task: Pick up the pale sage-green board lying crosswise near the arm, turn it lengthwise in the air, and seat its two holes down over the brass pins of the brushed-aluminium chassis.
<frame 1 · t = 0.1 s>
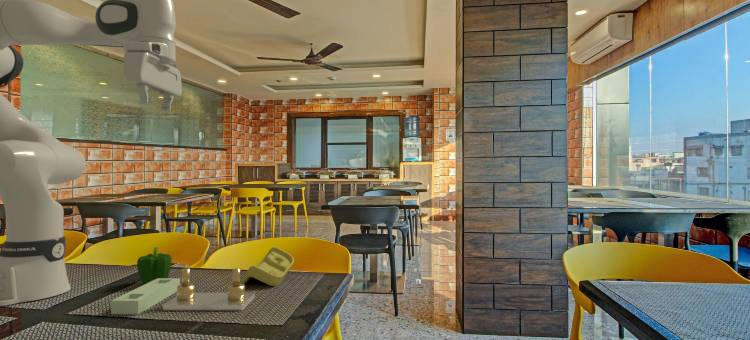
hand: (156, 107, 99), 48 cm above the table, fingers open, 8 cm apart
bell pepper: (155, 284, 109), on the table
board: (148, 300, 94), on the table
chassis: (211, 303, 92), on the table
plastic component: (270, 279, 115), on the table
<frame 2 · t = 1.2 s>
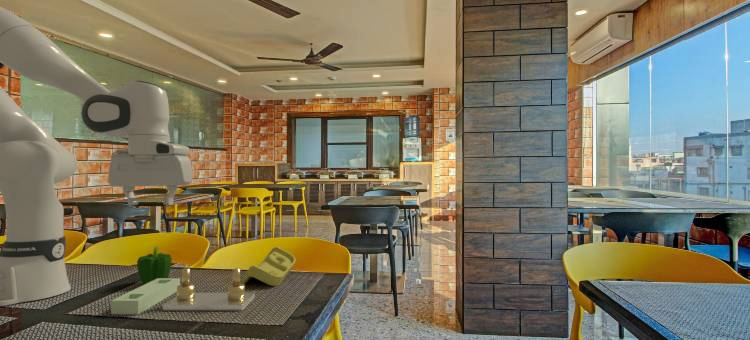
hand: (150, 204, 94), 23 cm above the table, fingers open, 8 cm apart
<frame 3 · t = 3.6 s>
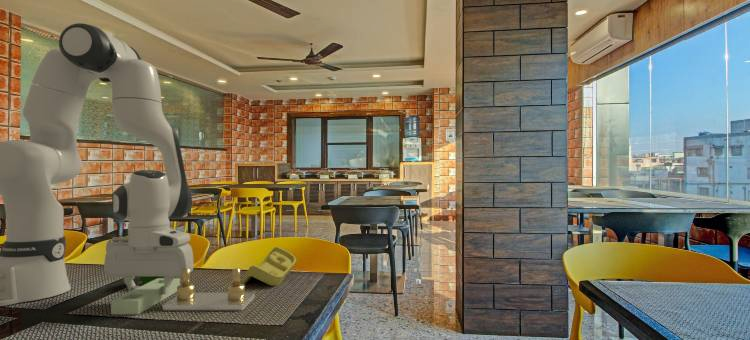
hand: (149, 294, 94), 2 cm above the table, fingers closed on board, 6 cm apart
board: (148, 300, 94), on the table, touching gripper
everything else where it was.
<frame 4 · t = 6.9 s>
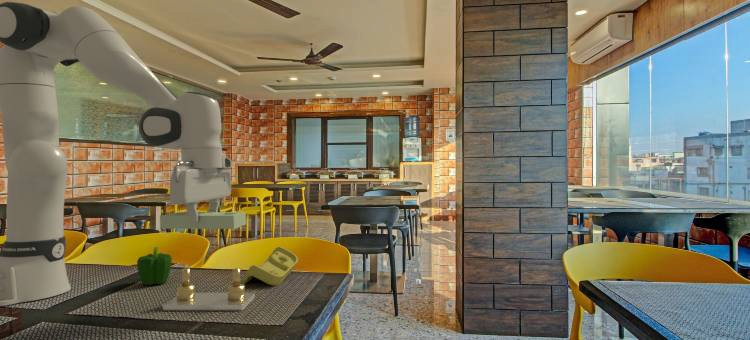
hand: (204, 219, 91), 20 cm above the table, fingers closed on board, 6 cm apart
board: (204, 226, 91), point 18 cm above the table, touching gripper
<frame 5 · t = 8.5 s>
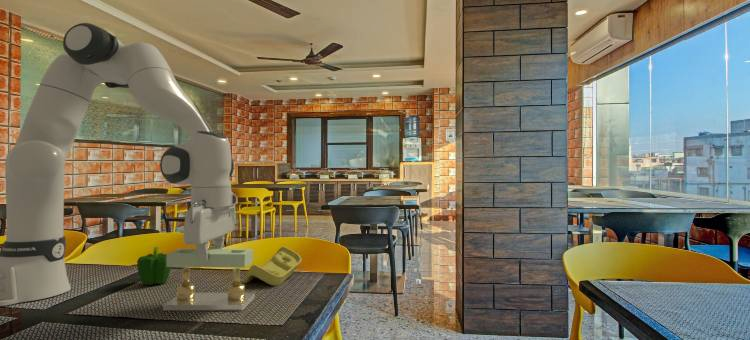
hand: (211, 257, 92), 11 cm above the table, fingers closed on board, 6 cm apart
board: (211, 264, 92), point 9 cm above the table, touching gripper
when the fingers open (7 cm above the table, at t = 9.9 s): board stays where it is, resting on chassis.
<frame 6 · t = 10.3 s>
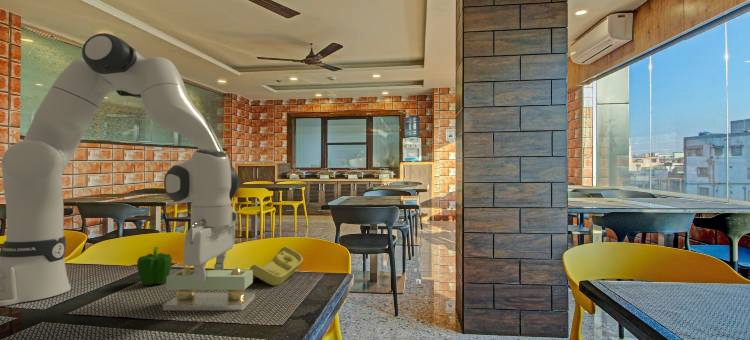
hand: (211, 275, 92), 7 cm above the table, fingers open, 8 cm apart
board: (210, 285, 92), point 4 cm above the table, touching chassis
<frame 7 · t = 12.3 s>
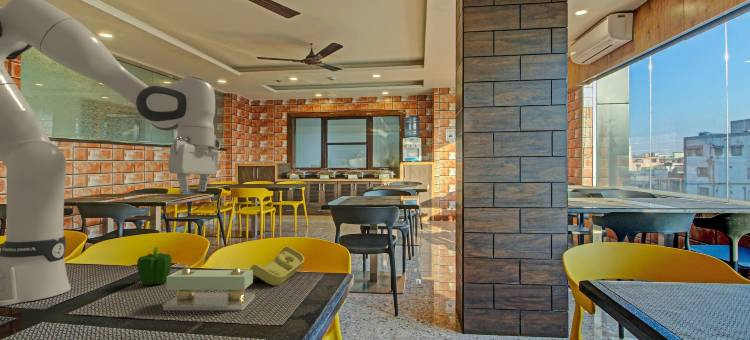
hand: (193, 191, 102), 26 cm above the table, fingers open, 8 cm apart
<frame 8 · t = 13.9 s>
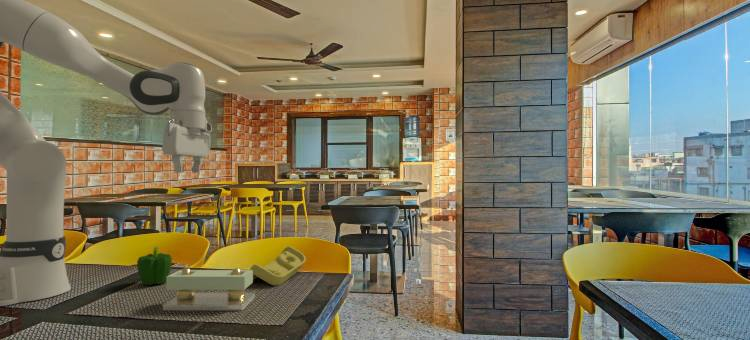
hand: (187, 172, 107), 31 cm above the table, fingers open, 8 cm apart
at the end: board 0.0 cm off-centre on the chassis, point 4.2 cm above the chassis's base; board tilted 0°; the gripper is holding nothing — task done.
